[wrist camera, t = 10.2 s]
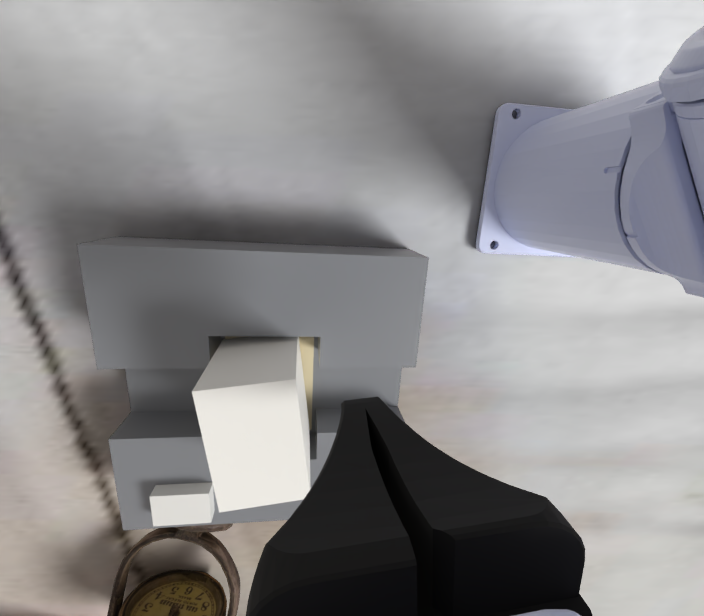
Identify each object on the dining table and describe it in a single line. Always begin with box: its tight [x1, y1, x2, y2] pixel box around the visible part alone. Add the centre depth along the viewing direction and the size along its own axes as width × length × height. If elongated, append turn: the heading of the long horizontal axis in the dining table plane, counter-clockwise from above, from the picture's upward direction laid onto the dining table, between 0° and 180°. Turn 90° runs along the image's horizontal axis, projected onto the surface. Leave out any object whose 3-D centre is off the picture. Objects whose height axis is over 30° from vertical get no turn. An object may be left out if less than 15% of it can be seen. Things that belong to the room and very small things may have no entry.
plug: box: [192, 336, 311, 513], centre depth 18 cm, size 4×6×6 cm, turn 4°
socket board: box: [77, 237, 429, 530], centre depth 20 cm, size 16×16×4 cm
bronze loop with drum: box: [107, 523, 240, 616], centre depth 22 cm, size 7×13×10 cm
